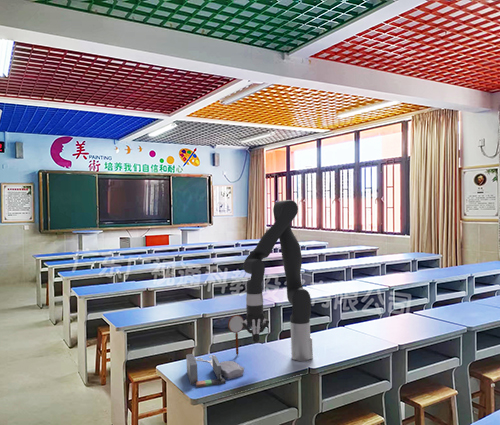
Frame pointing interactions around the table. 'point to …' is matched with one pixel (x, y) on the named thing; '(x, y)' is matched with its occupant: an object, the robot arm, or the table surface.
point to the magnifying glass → (235, 327)
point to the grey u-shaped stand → (194, 375)
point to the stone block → (231, 369)
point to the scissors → (205, 360)
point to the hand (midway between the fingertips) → (255, 341)
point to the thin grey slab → (216, 367)
